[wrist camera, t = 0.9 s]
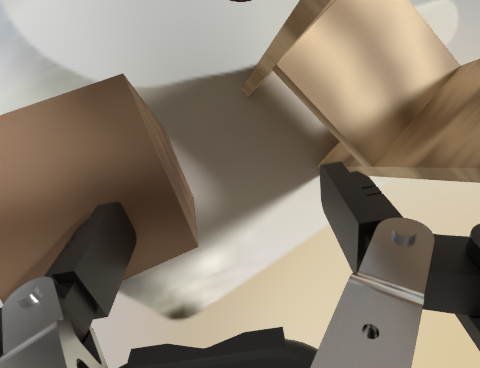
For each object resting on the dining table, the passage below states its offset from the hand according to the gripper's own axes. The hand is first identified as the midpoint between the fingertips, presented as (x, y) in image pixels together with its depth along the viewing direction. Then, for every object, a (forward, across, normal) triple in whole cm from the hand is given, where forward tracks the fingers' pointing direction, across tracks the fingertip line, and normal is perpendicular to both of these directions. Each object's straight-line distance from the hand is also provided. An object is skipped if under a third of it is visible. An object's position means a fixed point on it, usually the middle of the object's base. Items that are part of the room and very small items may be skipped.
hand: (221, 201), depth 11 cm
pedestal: (+18, +10, +7) cm, 22 cm away
